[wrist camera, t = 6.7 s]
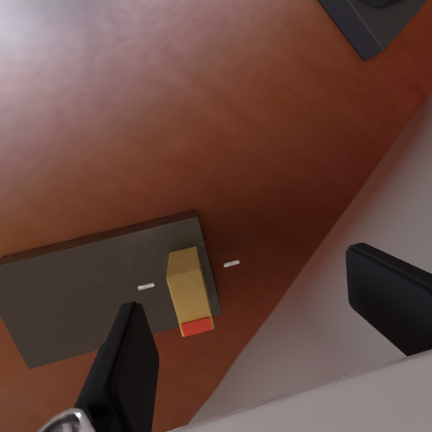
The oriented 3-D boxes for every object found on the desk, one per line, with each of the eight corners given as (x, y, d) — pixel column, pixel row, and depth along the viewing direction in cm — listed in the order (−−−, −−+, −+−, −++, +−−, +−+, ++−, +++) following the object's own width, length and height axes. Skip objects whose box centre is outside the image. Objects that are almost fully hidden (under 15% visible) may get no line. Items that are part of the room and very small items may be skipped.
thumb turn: (169, 252, 20) (165, 279, 16) (196, 245, 20) (200, 270, 16) (182, 301, 22) (182, 339, 17) (208, 295, 22) (215, 331, 17)
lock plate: (221, 202, 23) (227, 209, 20) (240, 290, 26) (248, 308, 23) (3, 256, 21) (-27, 272, 18) (47, 344, 24) (27, 371, 21)
